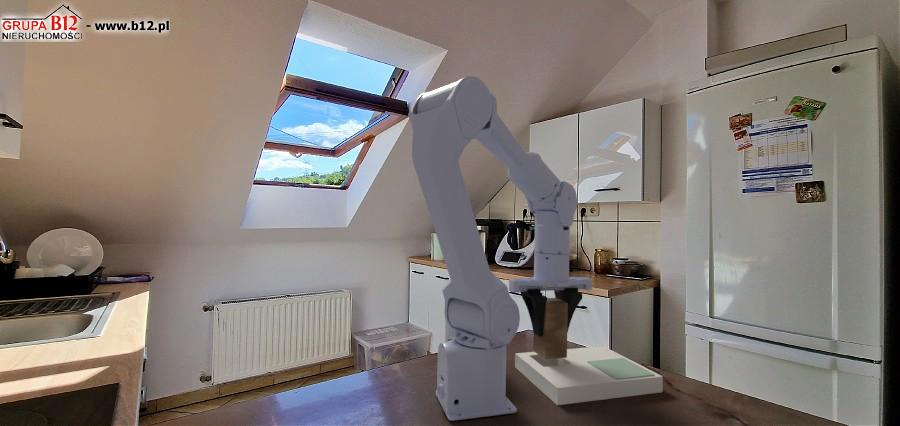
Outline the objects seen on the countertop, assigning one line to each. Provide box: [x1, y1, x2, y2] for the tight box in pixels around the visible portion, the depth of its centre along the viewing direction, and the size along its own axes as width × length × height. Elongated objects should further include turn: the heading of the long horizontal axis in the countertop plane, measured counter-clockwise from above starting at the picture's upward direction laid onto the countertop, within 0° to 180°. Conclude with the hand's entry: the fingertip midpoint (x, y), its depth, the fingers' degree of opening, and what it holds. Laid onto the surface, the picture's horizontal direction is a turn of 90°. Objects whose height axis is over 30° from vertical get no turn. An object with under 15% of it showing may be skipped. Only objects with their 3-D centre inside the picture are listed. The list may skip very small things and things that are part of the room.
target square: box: [587, 358, 655, 380], centre depth 62 cm, size 7×7×1 cm
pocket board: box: [514, 345, 664, 406], centre depth 63 cm, size 18×14×2 cm
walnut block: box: [532, 297, 568, 359], centre depth 65 cm, size 4×4×9 cm
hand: (550, 333), depth 65 cm, fingers closed on walnut block, 4 cm apart
